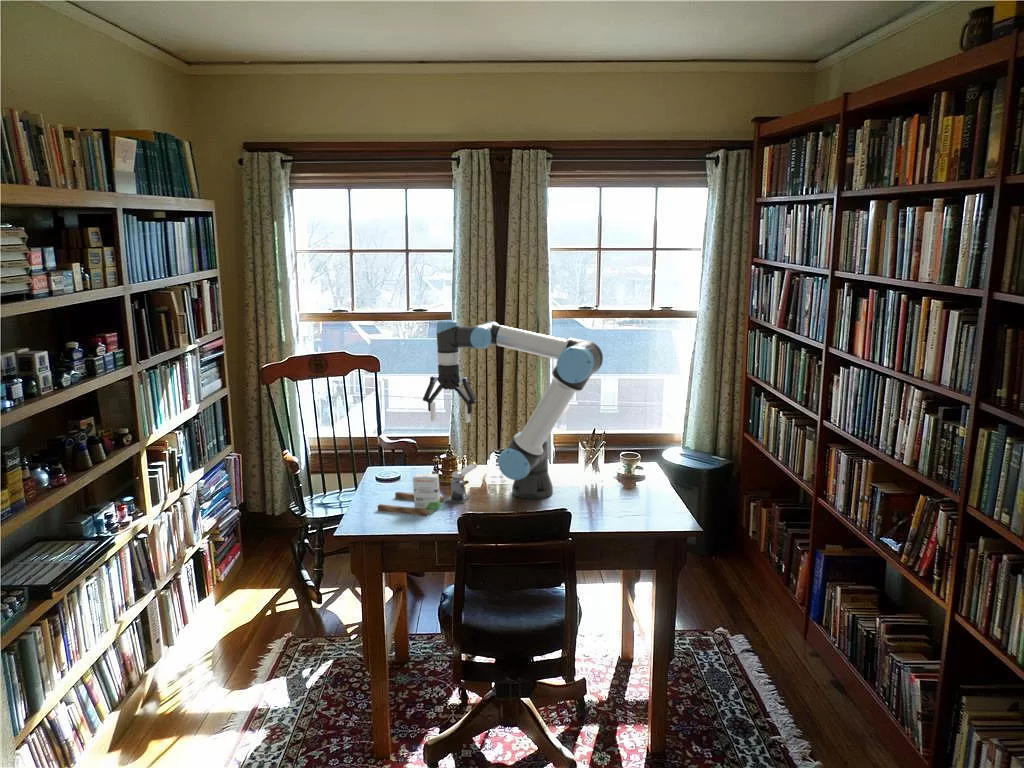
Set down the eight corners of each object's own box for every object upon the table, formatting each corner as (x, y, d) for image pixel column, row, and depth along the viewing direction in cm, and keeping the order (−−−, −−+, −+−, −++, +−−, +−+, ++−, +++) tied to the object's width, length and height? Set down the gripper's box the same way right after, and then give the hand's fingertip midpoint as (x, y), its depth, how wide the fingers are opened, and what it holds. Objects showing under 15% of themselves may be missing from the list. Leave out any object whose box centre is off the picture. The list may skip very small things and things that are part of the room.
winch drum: (470, 497, 283) (469, 476, 282) (463, 503, 277) (462, 482, 275) (453, 495, 285) (452, 474, 284) (445, 501, 279) (444, 480, 277)
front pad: (443, 503, 277) (443, 502, 277) (430, 514, 267) (430, 513, 267) (425, 501, 279) (425, 500, 279) (412, 512, 269) (412, 511, 269)
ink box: (440, 504, 275) (439, 473, 273) (438, 509, 270) (436, 477, 268) (417, 504, 276) (415, 472, 274) (414, 509, 271) (412, 477, 269)
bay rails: (444, 501, 279) (444, 496, 279) (426, 516, 265) (426, 510, 265) (397, 497, 285) (397, 491, 285) (377, 511, 271) (377, 505, 271)
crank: (459, 481, 277) (459, 474, 277) (450, 480, 279) (450, 473, 278) (479, 468, 292) (479, 461, 291) (470, 467, 293) (470, 460, 293)
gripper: (484, 363, 274) (486, 420, 278) (421, 360, 282) (423, 416, 286) (477, 366, 267) (478, 425, 271) (412, 364, 275) (414, 421, 279)
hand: (450, 421), depth 279 cm, fingers open, 13 cm apart
